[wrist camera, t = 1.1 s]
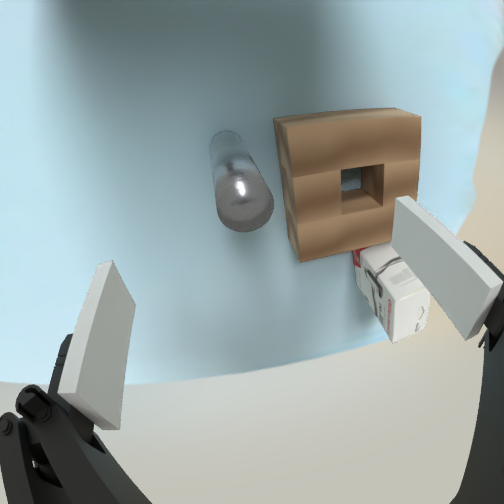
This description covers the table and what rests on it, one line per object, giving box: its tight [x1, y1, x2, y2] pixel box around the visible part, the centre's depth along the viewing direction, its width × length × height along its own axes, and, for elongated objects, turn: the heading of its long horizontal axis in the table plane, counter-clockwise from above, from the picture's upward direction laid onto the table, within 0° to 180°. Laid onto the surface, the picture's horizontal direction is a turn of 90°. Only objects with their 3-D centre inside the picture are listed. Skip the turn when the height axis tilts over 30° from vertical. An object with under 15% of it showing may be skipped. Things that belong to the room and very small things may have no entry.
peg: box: [210, 131, 274, 232], centre depth 22 cm, size 3×3×14 cm
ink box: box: [353, 241, 431, 343], centre depth 34 cm, size 9×5×12 cm, turn 20°
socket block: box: [273, 108, 421, 263], centre depth 29 cm, size 14×14×5 cm
